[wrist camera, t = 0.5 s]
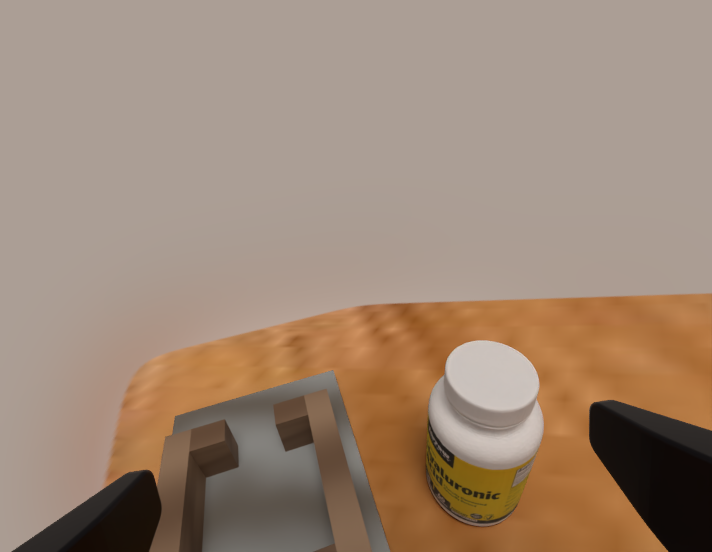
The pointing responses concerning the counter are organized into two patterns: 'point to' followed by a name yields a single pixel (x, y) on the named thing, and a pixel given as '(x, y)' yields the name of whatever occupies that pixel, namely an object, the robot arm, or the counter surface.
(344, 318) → the counter surface
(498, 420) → the supplement bottle
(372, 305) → the counter surface
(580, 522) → the counter surface
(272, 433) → the pocket
